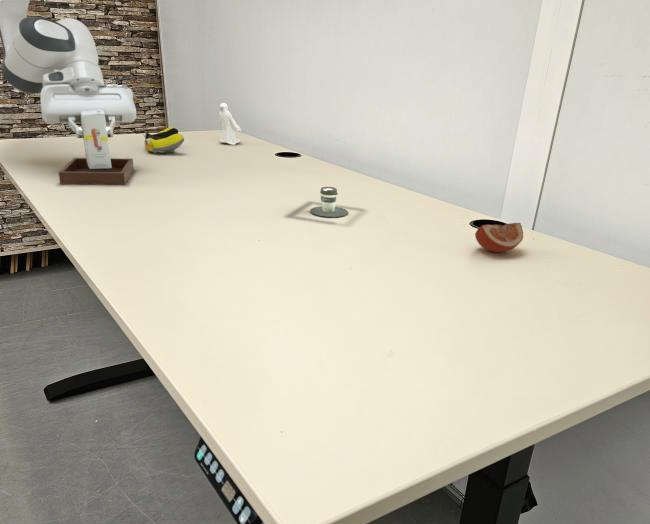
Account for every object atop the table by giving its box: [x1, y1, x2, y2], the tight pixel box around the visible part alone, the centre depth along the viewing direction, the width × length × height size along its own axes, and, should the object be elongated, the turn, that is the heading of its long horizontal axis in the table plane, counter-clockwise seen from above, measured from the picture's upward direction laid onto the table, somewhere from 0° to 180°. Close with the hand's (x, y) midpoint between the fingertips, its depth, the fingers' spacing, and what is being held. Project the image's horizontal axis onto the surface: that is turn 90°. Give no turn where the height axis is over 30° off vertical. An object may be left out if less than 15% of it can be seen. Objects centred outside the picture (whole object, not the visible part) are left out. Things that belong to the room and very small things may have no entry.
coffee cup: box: [309, 186, 349, 218], centre depth 118 cm, size 12×12×5 cm
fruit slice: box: [474, 222, 524, 253], centre depth 102 cm, size 8×7×5 cm
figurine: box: [218, 102, 243, 146], centre depth 181 cm, size 8×8×12 cm
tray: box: [58, 157, 135, 186], centre depth 136 cm, size 14×16×3 cm
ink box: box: [80, 110, 112, 169], centre depth 133 cm, size 9×5×12 cm, turn 24°
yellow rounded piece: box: [142, 126, 185, 154], centre depth 167 cm, size 15×6×10 cm
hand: (95, 136), depth 133 cm, fingers closed on ink box, 5 cm apart
